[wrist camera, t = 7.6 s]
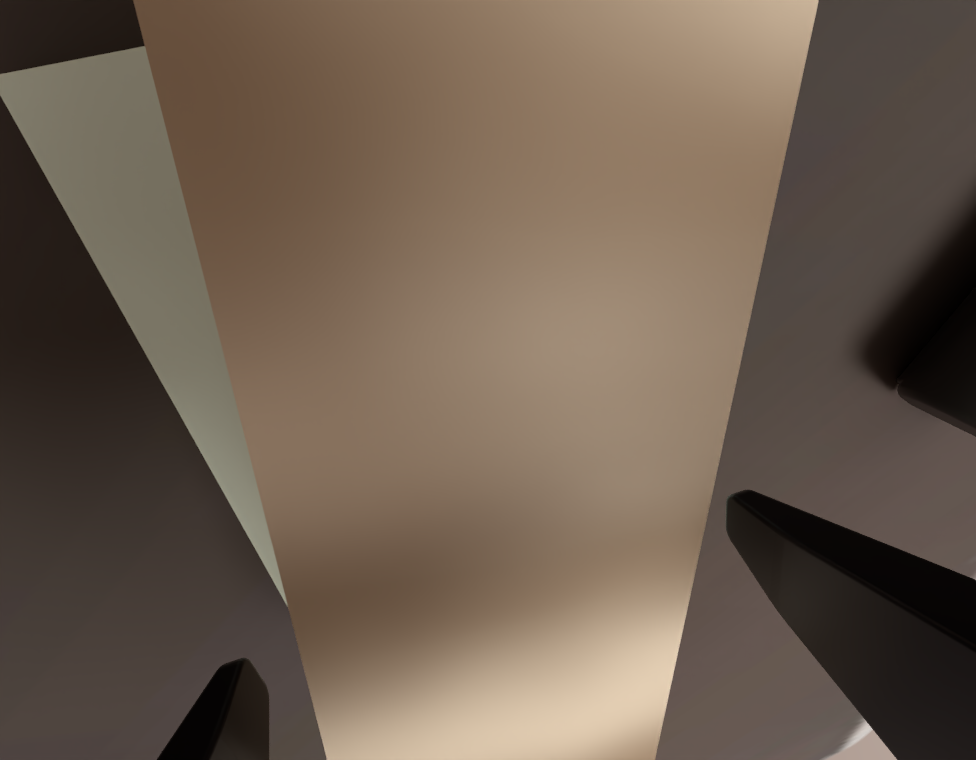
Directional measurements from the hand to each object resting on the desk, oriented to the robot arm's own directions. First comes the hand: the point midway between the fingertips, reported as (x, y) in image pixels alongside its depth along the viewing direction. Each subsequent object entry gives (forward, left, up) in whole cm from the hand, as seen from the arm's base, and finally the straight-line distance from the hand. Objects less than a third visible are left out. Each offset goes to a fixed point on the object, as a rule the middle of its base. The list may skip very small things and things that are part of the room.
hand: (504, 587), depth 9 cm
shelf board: (0, 0, -2) cm, 3 cm away
